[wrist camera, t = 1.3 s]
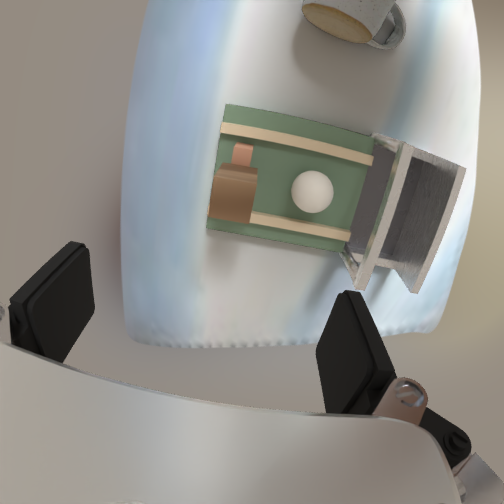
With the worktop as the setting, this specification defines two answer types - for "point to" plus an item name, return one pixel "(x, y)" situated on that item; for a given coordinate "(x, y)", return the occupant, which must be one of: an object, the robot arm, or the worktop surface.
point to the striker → (234, 187)
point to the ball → (312, 191)
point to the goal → (401, 212)
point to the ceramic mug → (356, 19)
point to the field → (295, 175)
